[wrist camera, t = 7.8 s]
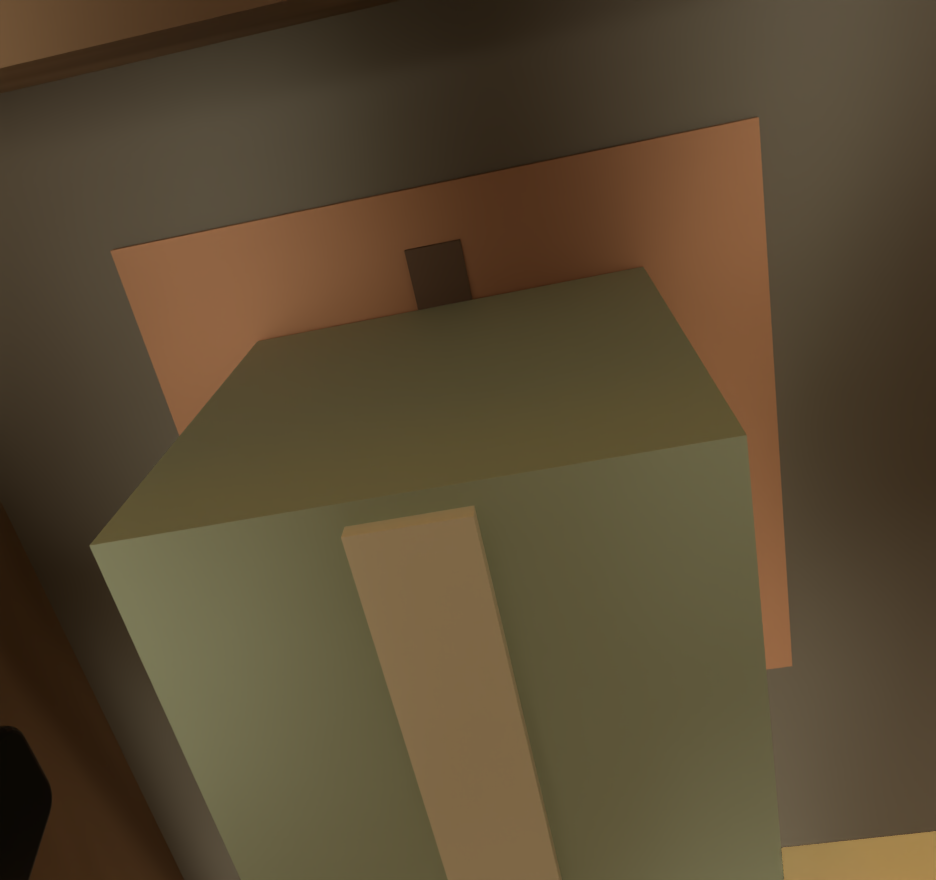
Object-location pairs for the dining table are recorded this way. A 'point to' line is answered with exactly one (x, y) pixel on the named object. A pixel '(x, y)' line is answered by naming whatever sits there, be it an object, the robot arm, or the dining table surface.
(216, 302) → the arena
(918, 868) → the dining table surface
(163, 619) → the cube
